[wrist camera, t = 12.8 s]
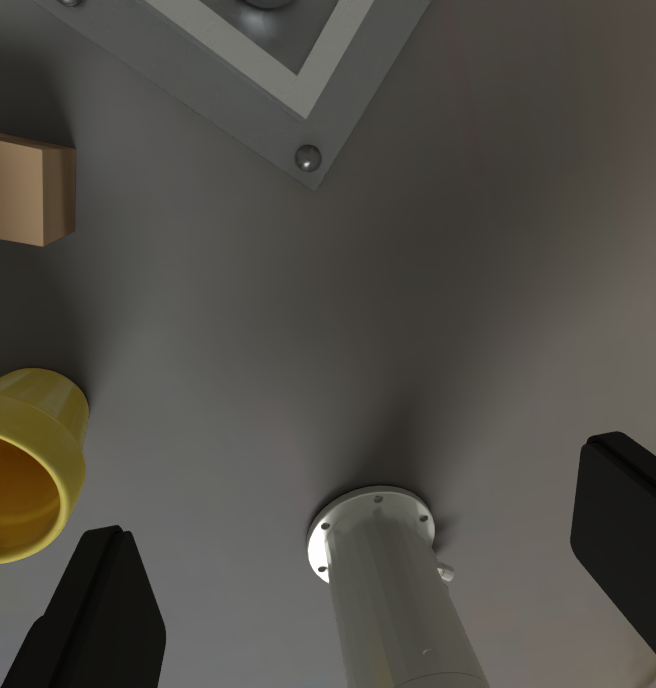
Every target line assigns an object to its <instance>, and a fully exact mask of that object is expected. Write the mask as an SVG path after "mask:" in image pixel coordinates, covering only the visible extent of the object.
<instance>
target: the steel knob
mask: <svg viewBox="0 0 656 688" xmlns="http://www.w3.org/2000/svg"><path fill="white" fill-rule="evenodd" d="M246 1H247V2H249V3H251V4H253V5H255V6H258V7H262V8H276V7H280V6H283V5H285V4H287V3H289V2H290V1H292V0H246Z"/></svg>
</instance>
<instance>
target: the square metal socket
mask: <svg viewBox="0 0 656 688" xmlns="http://www.w3.org/2000/svg"><path fill="white" fill-rule="evenodd" d="M32 1H33V2H35V3H36V4H38V5H39V6H41V7H42V8H44V9H45V10H47V11H48V12H50V13H51V14H52V15H54V16H55V17H57V18H58V19H60V20H61V21H63V22H64V23H66V24H67V25H69V26H70V27H72V28H73V29H75V30H76V31H78V32H79V33H80V34H82V35H83V36H85V37H86V38H88V39H89V40H91V41H92V42H94V43H95V44H97V45H98V46H100V47H101V48H103V49H104V50H106V51H107V52H109V53H110V54H111V55H113V56H114V57H116V58H117V59H119V60H120V61H122V62H123V63H125V64H126V65H128V66H129V67H131V68H132V69H134V70H135V71H137V72H138V73H139V74H141V75H142V76H144V77H145V78H147V79H148V80H150V81H151V82H153V83H154V84H156V85H157V86H159V87H160V88H162V89H163V90H165V91H166V92H168V93H169V94H170V95H172V96H173V97H175V98H176V99H178V100H179V101H181V102H182V103H184V104H185V105H187V106H188V107H190V108H191V109H193V110H194V111H196V112H197V113H199V114H200V115H201V116H203V117H204V118H206V119H207V120H209V121H210V122H212V123H213V124H215V125H216V126H218V127H219V128H221V129H222V130H224V131H225V132H227V133H228V134H229V135H231V136H232V137H234V138H235V139H237V140H238V141H240V142H241V143H243V144H244V145H246V146H247V147H249V148H250V149H252V150H253V151H255V152H256V153H258V154H259V155H260V156H262V157H263V158H265V159H266V160H268V161H269V162H271V163H272V164H274V165H275V166H277V167H278V168H280V169H281V170H283V171H284V172H286V173H287V174H289V175H290V176H291V177H293V178H294V179H296V180H297V181H299V182H300V183H302V184H303V185H305V186H306V187H308V188H309V189H311V190H312V191H314V192H316V190H317V188H318V187H319V185H320V183H321V182H322V180H323V178H324V177H325V175H326V174H327V172H328V170H329V169H330V167H331V165H332V164H333V162H334V160H335V159H336V157H337V155H338V154H339V152H340V150H341V149H342V147H343V145H344V144H345V142H346V140H347V139H348V137H349V136H350V134H351V132H352V131H353V129H354V127H355V126H356V124H357V122H358V121H359V119H360V117H361V116H362V114H363V112H364V111H365V109H366V107H367V106H368V104H369V102H370V101H371V99H372V98H373V96H374V94H375V93H376V91H377V89H378V88H379V86H380V84H381V83H382V81H383V79H384V78H385V76H386V74H387V73H388V71H389V69H390V68H391V66H392V64H393V63H394V61H395V60H396V58H397V56H398V55H399V53H400V51H401V50H402V48H403V46H404V45H405V43H406V41H407V40H408V38H409V36H410V35H411V33H412V31H413V30H414V28H415V26H416V25H417V23H418V22H419V20H420V18H421V17H422V15H423V13H424V12H425V10H426V8H427V7H428V5H429V3H430V2H431V0H292V1H290V2H289V3H287V4H285V5H283V6H280V7H276V8H262V7H258V6H255V5H253V4H251V3H249V2H247V1H246V0H32Z"/></svg>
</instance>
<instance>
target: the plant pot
mask: <svg viewBox="0 0 656 688" xmlns="http://www.w3.org/2000/svg"><path fill="white" fill-rule="evenodd" d="M88 418H89V407H88V403H87V400H86V398H85V396H84V394H83V392H82V391H81V390H80V388H79V387H78V386H77V385H76V384H75V383H73V382H72V381H71V380H70V379H68V378H67V377H65V376H63V375H61V374H59V373H56V372H54V371H50V370H46V369H40V368H24V369H20V370H16V371H13V372H10V373H8V374H6V375H4V376H2V377H0V564H1V563H8V562H12V561H16V560H20V559H22V558H25V557H28V556H30V555H32V554H34V553H36V552H38V551H40V550H41V549H43V548H45V547H46V546H47V545H49V544H50V543H51V542H52V541H53V540H54V539H55V538H56V537H57V536H58V535H59V534H60V532H61V531H62V529H63V528H64V526H65V524H66V522H67V521H68V519H69V517H70V515H71V513H72V511H73V509H74V506H75V504H76V502H77V500H78V498H79V495H80V493H81V490H82V488H83V484H84V481H85V475H86V464H85V459H84V455H83V452H82V449H83V444H84V439H85V434H86V429H87V424H88Z"/></svg>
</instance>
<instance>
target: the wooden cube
mask: <svg viewBox="0 0 656 688" xmlns="http://www.w3.org/2000/svg"><path fill="white" fill-rule="evenodd" d="M75 195H76V149H73V148H69V147H64V146H60V145H55V144H51V143H46V142H42V141H37V140H32V139H28V138H23V137H19V136H14V135H10V134H5V133H1V132H0V239H2V240H8V241H14V242H20V243H25V244H31V245H37V246H45V245H48V244H50V243H52V242H54V241H56V240H58V239H60V238H62V237H64V236H66V235H68V234H70V233H72V232H74V231H75Z"/></svg>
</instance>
